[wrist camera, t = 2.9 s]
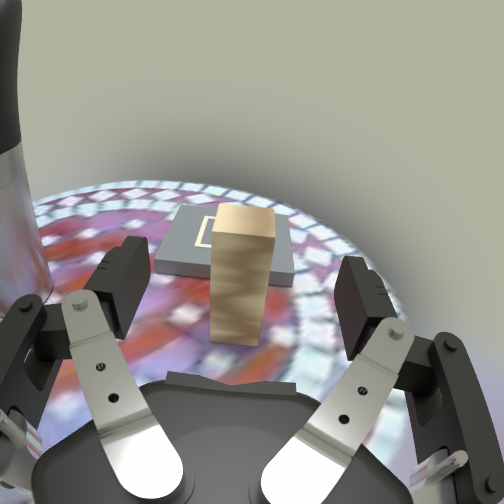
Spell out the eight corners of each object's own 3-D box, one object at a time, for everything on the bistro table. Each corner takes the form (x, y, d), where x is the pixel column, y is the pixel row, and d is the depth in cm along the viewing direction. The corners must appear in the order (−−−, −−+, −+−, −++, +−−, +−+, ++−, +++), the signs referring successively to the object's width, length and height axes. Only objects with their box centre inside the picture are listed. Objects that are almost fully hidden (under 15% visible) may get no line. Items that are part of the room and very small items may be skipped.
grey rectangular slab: (155, 272, 37) (154, 257, 36) (181, 216, 48) (180, 203, 47) (291, 286, 37) (294, 271, 36) (285, 226, 49) (287, 214, 48)
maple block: (209, 341, 29) (211, 231, 23) (215, 308, 33) (219, 203, 26) (257, 346, 29) (275, 237, 23) (258, 313, 33) (274, 208, 26)
